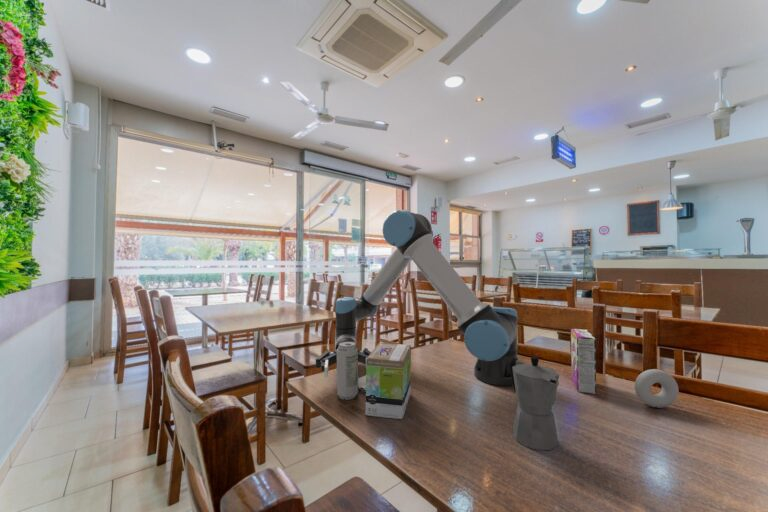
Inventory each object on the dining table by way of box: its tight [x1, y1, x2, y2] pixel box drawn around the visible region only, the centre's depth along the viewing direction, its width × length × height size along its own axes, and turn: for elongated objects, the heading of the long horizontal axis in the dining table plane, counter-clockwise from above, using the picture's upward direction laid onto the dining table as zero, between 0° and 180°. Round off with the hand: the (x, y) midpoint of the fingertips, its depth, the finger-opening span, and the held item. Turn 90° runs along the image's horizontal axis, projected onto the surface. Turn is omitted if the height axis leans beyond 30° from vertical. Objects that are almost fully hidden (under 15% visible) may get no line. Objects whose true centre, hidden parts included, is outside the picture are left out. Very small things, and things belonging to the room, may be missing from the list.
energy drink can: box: [336, 342, 359, 401], centre depth 93 cm, size 6×6×15 cm
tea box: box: [365, 342, 412, 420], centre depth 87 cm, size 15×10×15 cm, turn 168°
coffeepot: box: [509, 356, 560, 451], centre depth 72 cm, size 15×9×18 cm, turn 13°
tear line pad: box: [358, 374, 366, 394], centre depth 101 cm, size 10×12×1 cm
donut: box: [634, 368, 680, 409], centre depth 85 cm, size 10×4×10 cm, turn 83°
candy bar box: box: [570, 328, 597, 395], centre depth 99 cm, size 11×5×16 cm, turn 158°
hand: (347, 371), depth 89 cm, fingers open, 11 cm apart
